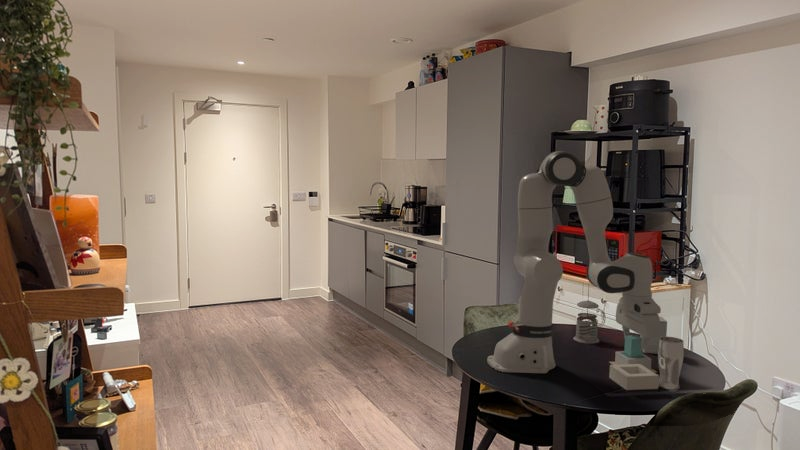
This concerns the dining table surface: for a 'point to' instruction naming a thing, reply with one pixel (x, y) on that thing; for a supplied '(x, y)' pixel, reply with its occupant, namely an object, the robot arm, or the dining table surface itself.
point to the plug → (633, 346)
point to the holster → (632, 360)
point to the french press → (587, 323)
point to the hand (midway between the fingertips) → (635, 343)
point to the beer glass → (670, 362)
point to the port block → (634, 377)
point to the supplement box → (654, 342)
